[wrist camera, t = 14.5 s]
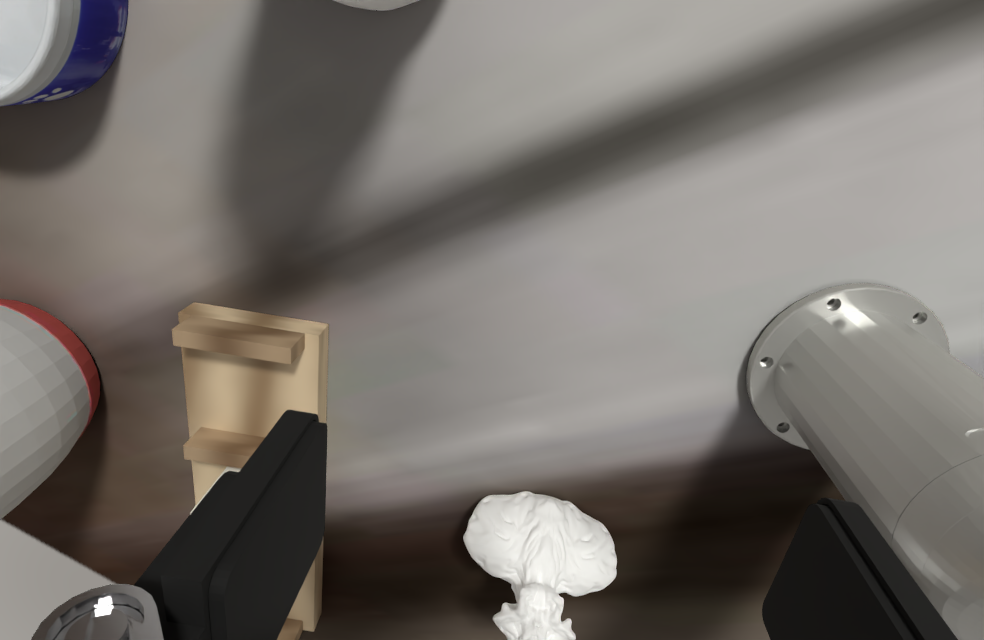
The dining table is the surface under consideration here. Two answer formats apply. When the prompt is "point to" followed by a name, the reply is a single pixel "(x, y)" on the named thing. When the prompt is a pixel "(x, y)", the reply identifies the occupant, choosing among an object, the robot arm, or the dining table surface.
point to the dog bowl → (56, 46)
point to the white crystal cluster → (377, 4)
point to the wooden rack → (250, 401)
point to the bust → (539, 559)
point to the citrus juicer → (39, 397)
